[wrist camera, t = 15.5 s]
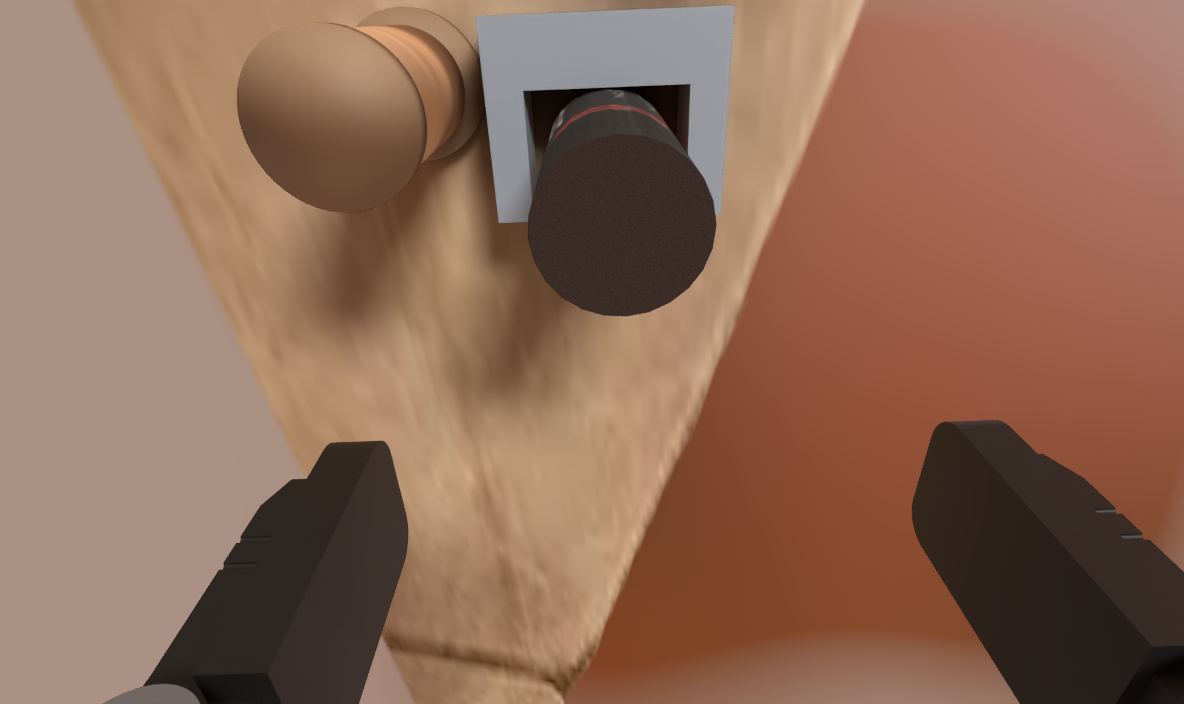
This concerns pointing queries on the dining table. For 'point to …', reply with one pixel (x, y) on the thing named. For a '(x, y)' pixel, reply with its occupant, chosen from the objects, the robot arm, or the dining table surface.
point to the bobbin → (358, 105)
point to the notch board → (603, 81)
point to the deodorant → (618, 206)
